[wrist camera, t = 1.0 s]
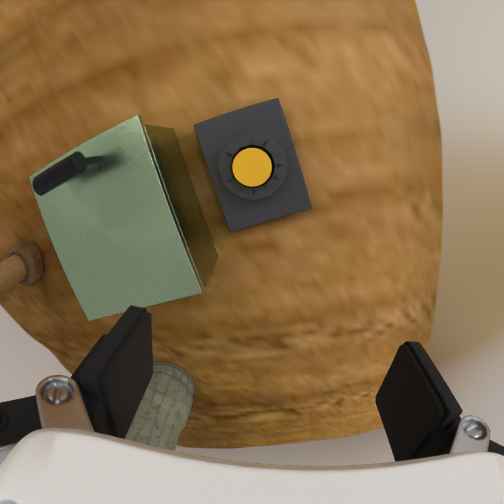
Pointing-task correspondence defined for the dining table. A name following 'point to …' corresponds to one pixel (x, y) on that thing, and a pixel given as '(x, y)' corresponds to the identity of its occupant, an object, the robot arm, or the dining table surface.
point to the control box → (266, 139)
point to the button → (252, 167)
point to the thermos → (163, 407)
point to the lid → (115, 223)
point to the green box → (183, 199)
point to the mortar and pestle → (21, 266)
